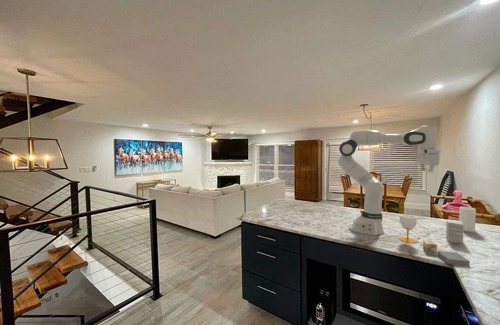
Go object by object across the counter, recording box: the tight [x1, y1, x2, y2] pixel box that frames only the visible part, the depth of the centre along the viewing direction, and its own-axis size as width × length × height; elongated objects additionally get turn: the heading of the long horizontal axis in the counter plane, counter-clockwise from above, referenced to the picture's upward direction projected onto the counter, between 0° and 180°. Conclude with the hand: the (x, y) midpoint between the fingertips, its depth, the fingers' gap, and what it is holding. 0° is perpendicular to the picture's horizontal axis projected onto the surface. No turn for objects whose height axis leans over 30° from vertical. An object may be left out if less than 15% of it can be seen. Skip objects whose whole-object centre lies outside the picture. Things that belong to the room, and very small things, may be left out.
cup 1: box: [398, 214, 418, 244], centre depth 137 cm, size 9×9×16 cm
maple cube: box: [422, 239, 438, 254], centre depth 123 cm, size 5×5×5 cm
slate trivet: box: [436, 250, 471, 267], centre depth 112 cm, size 9×9×3 cm
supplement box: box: [445, 218, 464, 245], centre depth 135 cm, size 7×7×13 cm
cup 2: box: [458, 206, 477, 232], centre depth 152 cm, size 8×8×16 cm
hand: (426, 171), depth 137 cm, fingers open, 8 cm apart
